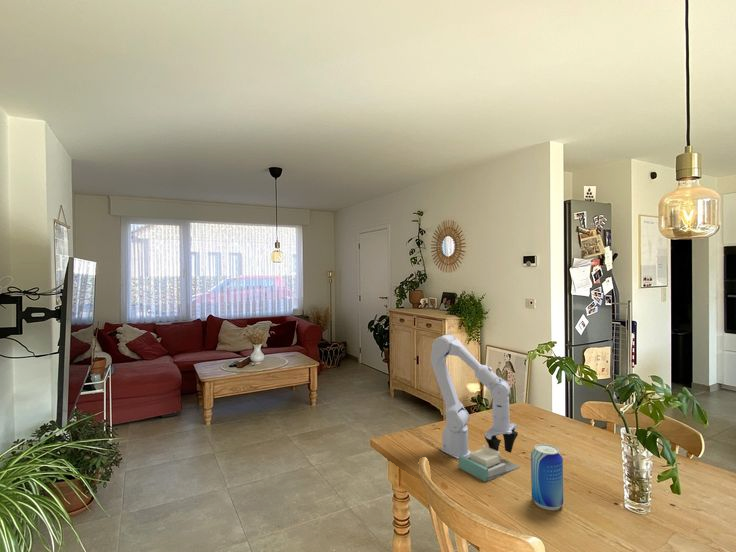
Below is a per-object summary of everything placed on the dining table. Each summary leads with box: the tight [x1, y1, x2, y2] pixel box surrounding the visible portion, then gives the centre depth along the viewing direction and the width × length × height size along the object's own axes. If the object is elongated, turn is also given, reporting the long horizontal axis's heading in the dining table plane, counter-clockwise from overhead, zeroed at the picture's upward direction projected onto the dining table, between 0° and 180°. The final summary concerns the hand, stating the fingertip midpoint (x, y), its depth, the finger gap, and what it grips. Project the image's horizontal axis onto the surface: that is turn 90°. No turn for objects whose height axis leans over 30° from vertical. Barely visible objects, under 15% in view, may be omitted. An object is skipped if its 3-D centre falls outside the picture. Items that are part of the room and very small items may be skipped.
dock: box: [458, 455, 521, 483], centre depth 138 cm, size 12×18×5 cm
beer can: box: [530, 443, 564, 511], centre depth 116 cm, size 8×8×16 cm
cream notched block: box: [470, 444, 501, 468], centre depth 137 cm, size 7×7×5 cm
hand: (501, 454), depth 142 cm, fingers open, 7 cm apart
